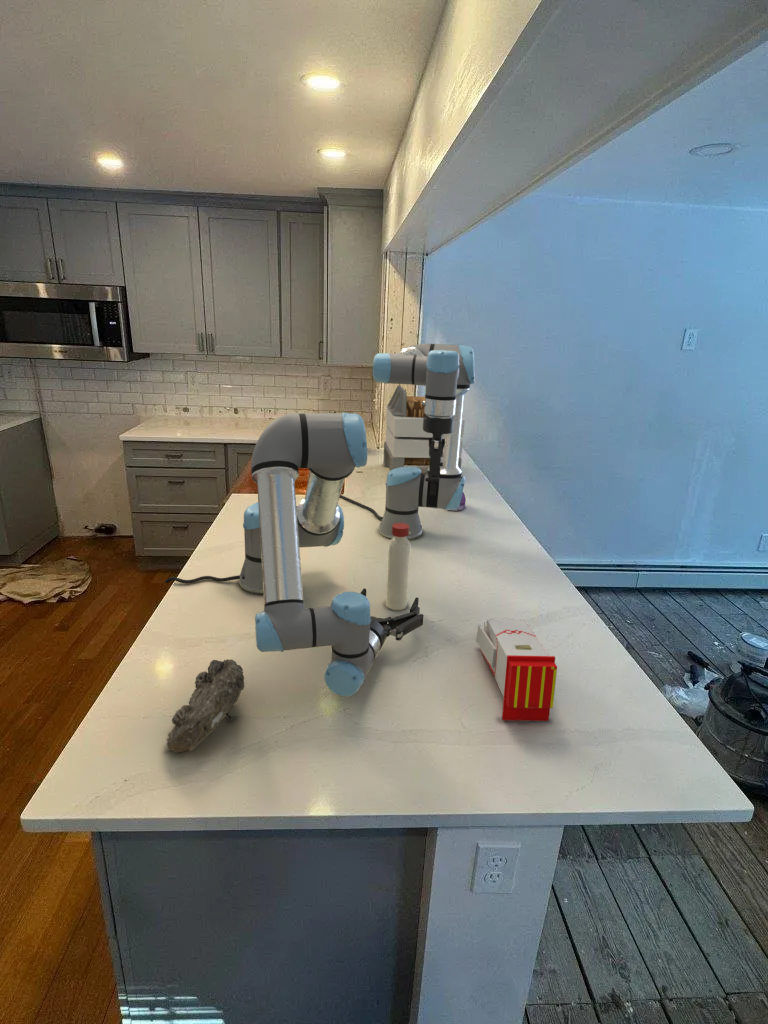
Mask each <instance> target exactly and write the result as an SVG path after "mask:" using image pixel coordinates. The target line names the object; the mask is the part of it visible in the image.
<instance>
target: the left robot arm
mask: <svg viewBox="0 0 768 1024" xmlns="http://www.w3.org/2000/svg"><path fill="white" fill-rule="evenodd" d="M366 431H367V430H366V426H365V422H364V419H363V418H362V416H361V415H360V414H358V413H348V412H345V411H344V412H319V413H318V412H312V413H311V412H310V413H304V412H303V413H299V412H292V413H286V414H283V415H281V416H279V417H278V418H276V419H274V420H273V421H271V423H269V424H268V425H267V426H266V427H265V429H264V430H263V431H262V433H261V434H260V436H259V437H258V439H257V441H256V444H255V446H254V448H253V452H252V455H251V462H250V471H251V472H250V474H251V479H252V481H253V482H254V483H256V486H257V489H256V490H257V502H255V503H253V504H251V505H249V506H247V508H246V509H245V510H244V512H243V524H242V527H243V532H244V533H243V534H244V535H243V536H244V561H243V564H242V567H241V571H240V574H239V575H232V576H227V577H216V576H211V575H203V576H199V577H195V578H192V579H184V578H183V579H182V578H179V577H177V576H170V577H168V578H167V579H166V580H165V581H164V583H165V584H169V583H170V582H178V583H181V584H187V585H189V584H194V583H197V582H200V581H206V580H210V581H215V582H219V583H220V582H221V583H223V582H229V581H235V580H239V586H240V588H241V589H243V590H244V591H246V592H248V593H252V594H257V595H263V605H264V608H263V610H262V611H260V612H257V613H256V614H255V616H254V625H255V628H254V629H255V645H256V648H257V650H258V651H259V652H261V653H271V652H273V653H274V652H282V653H283V652H285V651H294V650H301V649H309V648H322V647H328V646H329V647H331V648H330V649H331V655H330V656H331V657H330V658H331V659H330V663H328V665H327V666H326V669H325V672H324V676H323V678H324V683H325V685H326V687H327V688H328V690H329V691H330V692H331V693H333V694H335V695H338V696H341V697H351V696H354V695H356V694H357V692H358V691H359V689H360V688H361V687H362V685H364V683H365V682H366V678H367V676H368V675H369V672H370V671H371V668H372V667H373V664H374V662H375V660H376V658H377V656H378V655H379V653H380V651H381V650H382V647H383V645H384V644H385V642H386V640H387V638H388V637H390V636H391V637H395V640H396V641H399V642H400V641H401V640H402V639H403V638H404V636H407V635H408V634H410V633H412V632H414V631H415V630H416V629H419V628H421V627H422V626H423V625H424V616H425V615H424V614H423V613H420V611H421V608H420V606H419V601H420V598H419V597H415V598H414V600H413V601H412V604H411V606H410V608H409V612H406V613H404V614H400V615H397V616H394V617H391V616H387V617H384V618H383V617H376V616H372V615H371V603H370V599H369V598H368V597H367V590H368V589H367V588H362V590H361V591H360V592H356V591H343V592H342V593H338V594H336V595H334V597H333V598H332V601H331V604H330V606H319V607H318V606H317V607H307V608H305V604H304V592H303V591H304V589H303V576H302V563H301V551H300V548H314V547H315V548H316V547H325V548H327V547H332V546H336V545H339V543H340V542H341V541H342V539H343V536H344V529H345V515H344V511H343V508H342V507H341V506H340V505H339V500H340V498H341V497H340V495H342V490H343V487H344V483H345V480H346V479H347V478H348V477H350V476H351V475H352V473H353V472H354V471H355V468H357V469H360V468H362V467H365V466H366V465H367V463H368V440H367V432H366ZM299 469H308V470H309V471H308V477H307V483H306V488H305V494H304V498H303V499H302V500H301V501H300V502H299V504H298V505H297V497H296V495H297V494H296V481H297V480H298V478H299V477H300V473H299V471H300V470H299Z"/></svg>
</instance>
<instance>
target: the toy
mask: <svg viewBox="0 0 768 1024" xmlns="http://www.w3.org/2000/svg"><path fill="white" fill-rule="evenodd" d="M476 629H477V631H476V638H475V642H476V645H477V646H478V648H479V650H480V652H481V654H482V656H483V658H484V660H485V661H486V664H487V666H488V668H489V669H490V671H491V672H492V675H493V676H494V679H495V681H496V685H497V686H498V688H499V690H500V692H501V695H502V697H503V701H502V712H501V720H502V721H521V722H523V721H526V722H528V721H529V722H550V712H551V709H554V702H555V692H556V681H557V673H558V665H557V664H556V656H555V655H550V654H549V652H548V651H547V650H546V648H545V647H544V645H543V644H542V642H541V641H540V639H539V638H538V637H537V635H536V634H535V632H534V631H533V629H532V627H531V625H530V624H528V623H527V621H526V619H521V618H518V619H515V618H513V619H512V618H486V620H484V621H483V626H482V625H481V624H477V628H476Z"/></svg>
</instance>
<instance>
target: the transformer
mask: <svg viewBox="0 0 768 1024" xmlns="http://www.w3.org/2000/svg"><path fill="white" fill-rule="evenodd" d="M407 394H408V393H407V390H406V389H404V388H403V387H402V385H401V384H397V386H396V388H395V390H394V392H393V394H392V395H391V398H390V400H389V402H388V404H387V405H386V413H385V414H386V415H385V423H386V428H385V438H384V442H383V466H384V467H388V468H389V472H390V471H391V470H393V469H396V468H400V467H405V466H406V467H417V466H418V467H430V457H429V438H432V437H433V434H432V433H427V432H425V431H423V417H424V416H426V414H425V413H424V407H425V406H426V405H422V402H423V401H425V396H415V395H414V396H413V395H412V396H411V395H407ZM464 429H465V419H464V418H462V426H461V437H460V448H459V459H458V467H459V468H460V469H461V470H462V461H463V460H462V453H463V442H464V441H463V440H462V439H463V438H464V431H465V430H464Z"/></svg>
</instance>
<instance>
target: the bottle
mask: <svg viewBox="0 0 768 1024" xmlns="http://www.w3.org/2000/svg"><path fill="white" fill-rule="evenodd" d="M387 550H388V552H387V569H386V570H387V572H386V592H385V606H386V607H387V608H388V609H390V610H393V611H402V610H404V609H406V608H407V605H408V591H409V575H410V559H411V558H410V557H411V542H410V540H408V539H407V537H396V536H394V537H393V538H392V539H389V542H388V549H387Z"/></svg>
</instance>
